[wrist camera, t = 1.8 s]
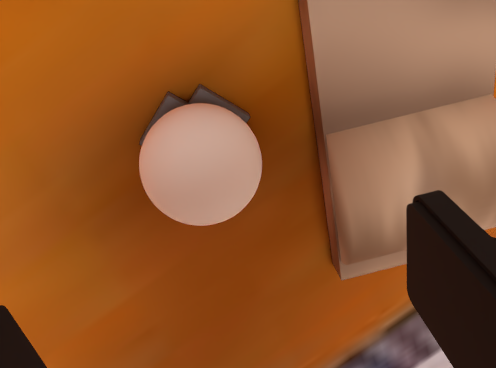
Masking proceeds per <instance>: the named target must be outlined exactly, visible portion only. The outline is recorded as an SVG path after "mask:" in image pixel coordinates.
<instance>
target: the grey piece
mask: <svg viewBox="0 0 496 368" xmlns="http://www.w3.org/2000/svg"><path fill="white" fill-rule="evenodd" d="M194 103H206V104H213V105H217V106H220V107H223V108H225V109H227V110H229V111H231V112H233V113H234V114H236V115H237V116H239V117H240V118H241V119H242V120H243V121H244V122H245V123H247V122H248V120H249V119H250V116H249V113H247V112H246V111H244V110H242V109H241V108H239V107H237V106H236V105H234V104H232V103H231V102H229V101H227V100H226V99H224V98H222V97H221V96H219V95H217V94H216V93H214V92H212V91H211V90H209V89H207V88H206V87H204V86H202V85H201V84H199V86H198V87H197V89H196V91H195V92H194V94H193V96H192V97H191V99H190V101H189V102H188V103H187V102H186V101H184V100H182V99H181V98H179V97H177V96H175V95H174V94H172V93H170V92H168V93H167V94H166V96H165V98H164V100H163V101H162V103H161V105H160V106H159V108H158V110H157V112H156V113H155V115H154V117H153V118H152V120H151V122H150V124H149V125H148V127H147V129H146V130H145V132H144V134H143V136H142V137H141V139H140V145H142V144H143V141H144V139H145V137H146V135H147V133H148V132H149V130H150V129H151V127H152V126H153V125H154V124H155V123H156V122H157V121H158V120H159V119H160V118H161V117H162V116H163V115H165V114H166V113H168V112H169V111H171V110H173V109H175V108H178V107H181V106H184V105H188V104H194Z"/></svg>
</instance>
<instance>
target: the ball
mask: <svg viewBox="0 0 496 368" xmlns="http://www.w3.org/2000/svg"><path fill="white" fill-rule="evenodd" d="M139 171H140V177H141V181H142V184H143V187H144V189H145V192H146V194H147V195H148V197H149V198H150V200H151V201H152V202H153V204H154V205H155V206H156V207H157V208H158V209H159V210H160V211H161V212H163V213H164V214H166V215H167V216H168V217H170V218H172V219H174V220H176V221H178V222H181V223H185V224H188V225H196V226H205V225H212V224H217V223H220V222H223V221H226V220H228V219H230V218H232V217H233V216H235V215H236V214H238V213H239V212H240V211H241V210H242V209H243V208H244V207H245V206H246V205H247V204H248V203H249V202H250V200H251V199H252V198H253V196H254V194H255V192H256V190H257V188H258V185H259V182H260V179H261V173H262V156H261V151H260V148H259V144H258V142H257V139H256V137H255V135H254V134H253V132H252V130H251V129H250V128H249V126H248V125H247V124H246V123H245V122H244V121H243V120H242V119H241V118H240V117H239V116H237V115H236V114H234V113H233V112H231V111H229V110H227V109H225V108H223V107H220V106H217V105H213V104H206V103H194V104H188V105H184V106H181V107H178V108H175V109H173V110H171V111H169V112H168V113H166V114H165V115H163V116H162V117H161V118H160V119H159V120H158V121H157V122H156V123H155V124H154V125H153V126H152V127H151V129H150V130H149V132H148V133H147V135H146V137H145V139H144V141H143V144H142V147H141V151H140V157H139Z"/></svg>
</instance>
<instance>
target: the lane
mask: <svg viewBox="0 0 496 368" xmlns="http://www.w3.org/2000/svg"><path fill="white" fill-rule="evenodd" d="M298 3H299V11H300V18H301V26H302V33H303V41H304V49H305V56H306V64H307V71H308V79H309V87H310V94H311V102H312V109H313V117H314V124H315V132H316V140H317V147H318V155H319V162H320V170H321V178H322V185H323V193H324V200H325V208H326V216H327V223H328V231H329V238H330V246H331V254H332V261H333V265H334V267H335V269H336V271H337V273H338V275H339V277H340V279H341V280H345V279H349V278H353V277H357V276H361V275H365V274H369V273H372V272H376V271H380V270H384V269H388V268H392V267H396V266H400V265H403V264H407V230H406V208H407V205H408V204H411V203H413V198H414V197H415V196H417V195H421V194H425V193H429V192H433V191H437V190H441V191H443V192H444V193H445V194H446V195H447V196H448V197H449V198H450V199H451V200H452V201H454V202H455V203H456V204H457V205H458V206H459V207H460V208H461V209H462V210H463V211H464V212H465V213H466V214H467V215H468V216H469V217H470V218H472V219H473V220H474V221H475V222H476V223H477V224H478V225H479V226H480V227H481V228H482V229H483V230H486V229H490V228H494V227H496V99H495V98H494V97H493V94H494V82H495V70H496V0H298Z"/></svg>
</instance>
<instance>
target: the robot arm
mask: <svg viewBox="0 0 496 368" xmlns="http://www.w3.org/2000/svg"><path fill="white" fill-rule="evenodd" d="M406 230H407V291H408V295H409V298H410V300H411V302H412V304H413V306H414V307H415V309H416V310H417V312H418V313H419V315H420V316H421V318H422V319H423V321H424V323H425V324H426V326H427V327H428V329H429V330H430V332H431V333H432V335H433V336H434V338H435V340H436V341H437V343H438V344H439V346H440V347H441V349H442V350H443V352H444V353H445V355H446V356H447V358H448V360H449V361H450V363H451V364H452V366H453V367H454V368H496V238H494V237H491V236H490V235H488V234H487V233H486V232H485V231H484V230H483V229H482V228H481V227H480V226H479V225H478V224H477V223H476V222H475V221H474V220H473V219H472V218H470V217H469V216H468V215H467V214H466V213H465V212H464V211H463V210H462V209H461V208H460V207H459V206H458V205H457V204H456V203H455V202H454V201H452V200H451V199H450V198H449V197H448V196H447V195H446V194H445V193H444V192H443V191H441V190H437V191H433V192H429V193H425V194H421V195H417V196H415V197H414V198H413V203H411V204H408V205H407V208H406ZM0 368H47V367H46V366H45V364H44V363H43V361H42V360H41V358H40V357H39V355H38V354H37V352H36V351H35V349H34V348H33V346H32V345H31V343H30V342H29V340H28V339H27V337H26V336H25V334H24V333H23V332H22V330H21V329H20V327H19V326H18V324H17V323H16V321H15V320H14V318H13V317H12V315H11V314H10V312H9V311H8V309H7V308H6V307H5V306H3V305H1V306H0Z"/></svg>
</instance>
